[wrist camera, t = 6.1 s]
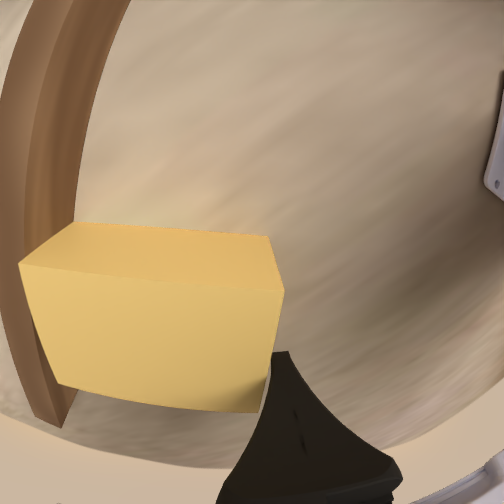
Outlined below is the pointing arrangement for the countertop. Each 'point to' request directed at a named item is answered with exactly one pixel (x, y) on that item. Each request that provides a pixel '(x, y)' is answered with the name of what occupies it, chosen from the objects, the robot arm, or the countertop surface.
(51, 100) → the walnut board
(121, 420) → the countertop surface
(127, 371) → the ochre block
